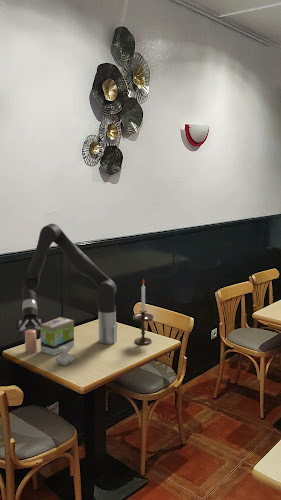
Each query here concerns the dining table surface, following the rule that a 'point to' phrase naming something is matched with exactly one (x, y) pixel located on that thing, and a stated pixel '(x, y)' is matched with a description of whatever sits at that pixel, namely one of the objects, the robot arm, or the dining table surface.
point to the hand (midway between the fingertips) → (30, 338)
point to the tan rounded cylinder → (30, 341)
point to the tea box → (57, 335)
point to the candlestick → (143, 317)
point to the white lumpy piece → (64, 356)
